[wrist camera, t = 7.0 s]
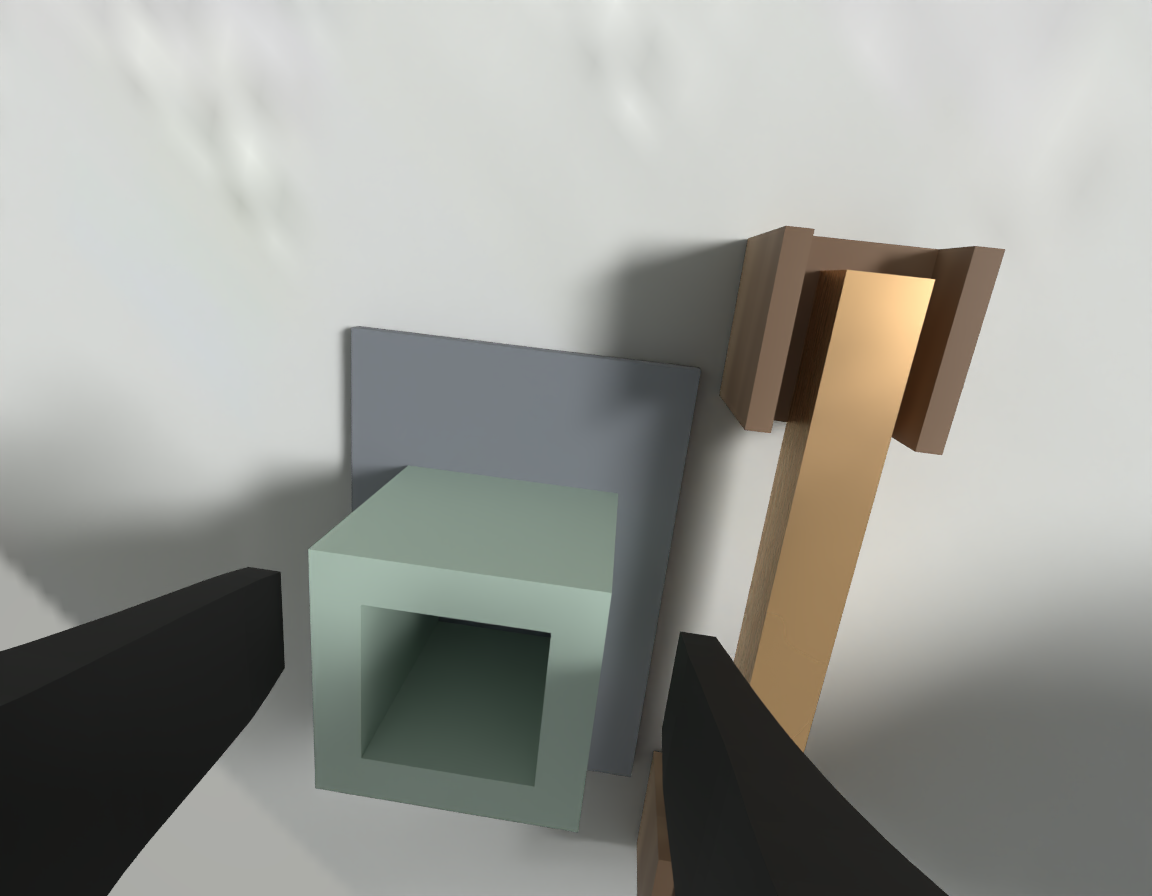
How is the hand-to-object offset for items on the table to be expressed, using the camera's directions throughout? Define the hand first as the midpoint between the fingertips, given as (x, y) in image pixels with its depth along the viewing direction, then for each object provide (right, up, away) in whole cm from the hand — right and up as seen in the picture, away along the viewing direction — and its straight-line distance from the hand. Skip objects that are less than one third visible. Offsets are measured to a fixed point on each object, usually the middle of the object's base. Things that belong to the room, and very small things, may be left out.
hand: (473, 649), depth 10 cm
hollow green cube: (0, +1, +3) cm, 3 cm away
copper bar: (+6, 0, +1) cm, 6 cm away
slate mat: (0, +1, +3) cm, 3 cm away
